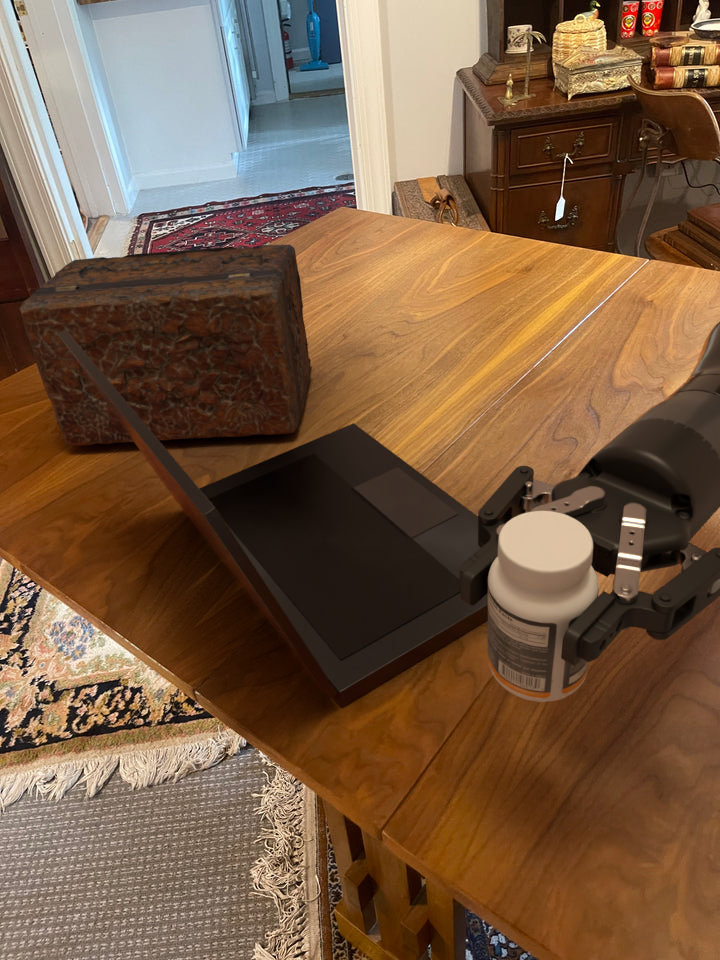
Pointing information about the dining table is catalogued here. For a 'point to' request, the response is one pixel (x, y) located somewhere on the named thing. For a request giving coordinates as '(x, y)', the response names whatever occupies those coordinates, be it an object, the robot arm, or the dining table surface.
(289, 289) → the decorative box
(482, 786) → the dining table surface
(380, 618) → the laptop
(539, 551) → the pill bottle
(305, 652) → the laptop screen
